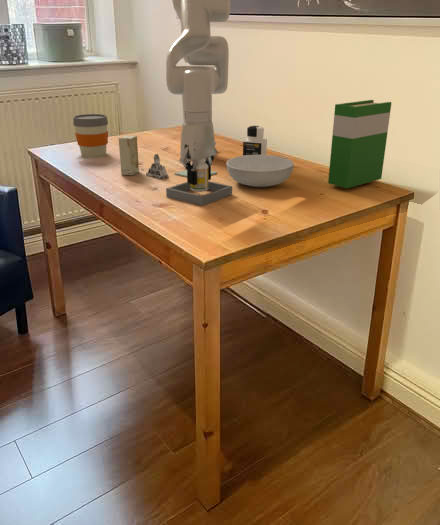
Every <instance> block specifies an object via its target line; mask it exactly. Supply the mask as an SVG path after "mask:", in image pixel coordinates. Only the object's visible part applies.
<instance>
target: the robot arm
mask: <svg viewBox="0 0 440 525" xmlns="http://www.w3.org/2000/svg"><path fill="white" fill-rule="evenodd" d="M171 2H172V6H173V10H174V11H175V13H176V15H177V16H178V18H179V21H180V31H181V32H180V36H179V38H177V39H176V40H175V41H174V43H173V44H172V45H171V47H170V48H169V50H168V53H167V56H166V63H165V71H166V72H165V75H166V77H165V78H166V87H167V90H168V91H169V92H170V93H171V94H173V95H177V96H178V95H180V96H181V98H182V122H183V123H182V128H181V133H180V134H181V135H180V151H179V154H180V158H179V163H181V165H182V166H183V167H184V168H185V169H184V170H187V177H186V180H187V181H186V182H188V183H189V184H193V185H196V184H197V171H195V168H196V163H197V160H200V159H203V158H206V162H205V163H206V164H207V165H208V181H210V180H212V175H211V171H212V166H213V161H214V158H215V156H216V155H217V153H218V150H217V148H216V145H217V142H216V141H215V132H214V131H215V130H214V124H213V123H214V122H213V98H212V97H213V96H212V95H219V94H220V95H221V94H224V93H225V92H227V89H228V86H229V55H230V54H229V52H230V51H229V43H228V41H227V39H226V38H225V37H224V36H220V35H211V23H212V22H214V23H216V22H217V23H225V22H227V21H228V20H229V17H230V14H231V0H171ZM181 60H183V61H184V62H185V63H186V64H187V65H180V66H178V63H179V61H181ZM191 164H192V165H191Z"/></svg>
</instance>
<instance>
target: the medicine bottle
mask: <svg viewBox="0 0 440 525" xmlns="http://www.w3.org/2000/svg"><path fill="white" fill-rule="evenodd" d="M246 130H247V131H246V137H247V138H246V139H245V140H243V141H242V156H244V155H268V154H267V152H268V149H267V146H268V139H267V138H264V137H265V136H264V135H265V134H264V131H265V128H264V127H263V126H261V125H250V126H248V127H247V129H246Z"/></svg>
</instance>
